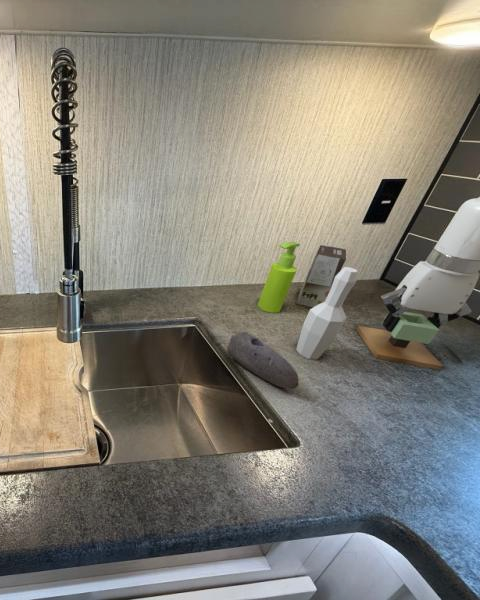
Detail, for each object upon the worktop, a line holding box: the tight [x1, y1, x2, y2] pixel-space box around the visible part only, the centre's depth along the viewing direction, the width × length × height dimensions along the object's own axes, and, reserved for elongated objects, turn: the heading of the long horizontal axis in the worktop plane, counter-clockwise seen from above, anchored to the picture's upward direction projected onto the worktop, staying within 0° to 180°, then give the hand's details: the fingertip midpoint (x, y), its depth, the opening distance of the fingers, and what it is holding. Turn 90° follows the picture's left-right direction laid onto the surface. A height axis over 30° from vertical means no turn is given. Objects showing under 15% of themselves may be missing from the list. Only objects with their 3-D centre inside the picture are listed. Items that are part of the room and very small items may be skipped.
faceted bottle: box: [295, 266, 359, 360], centre depth 68 cm, size 6×6×22 cm
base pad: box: [355, 325, 444, 371], centre depth 75 cm, size 12×12×4 cm
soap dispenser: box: [257, 241, 301, 314], centre depth 86 cm, size 6×7×20 cm
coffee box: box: [296, 244, 347, 309], centre depth 90 cm, size 9×6×16 cm
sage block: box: [381, 311, 440, 345], centre depth 72 cm, size 6×6×4 cm
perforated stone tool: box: [226, 331, 300, 390], centre depth 66 cm, size 15×5×7 cm, turn 30°
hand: (405, 330), depth 73 cm, fingers closed on sage block, 6 cm apart
